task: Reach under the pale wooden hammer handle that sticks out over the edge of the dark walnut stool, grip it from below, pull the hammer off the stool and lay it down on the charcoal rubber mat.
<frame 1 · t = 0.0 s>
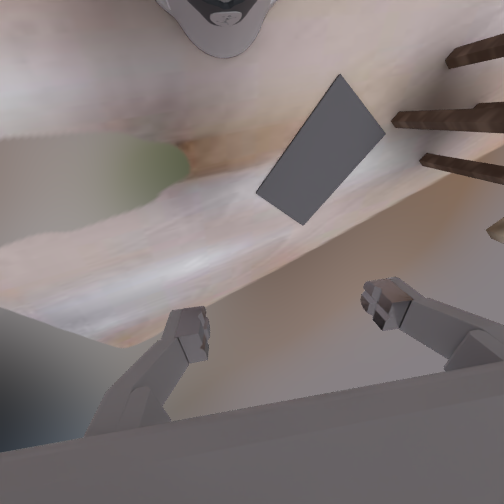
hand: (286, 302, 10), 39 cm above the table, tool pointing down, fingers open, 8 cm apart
stool: (436, 115, 41), on the table
mat: (317, 164, 44), on the table
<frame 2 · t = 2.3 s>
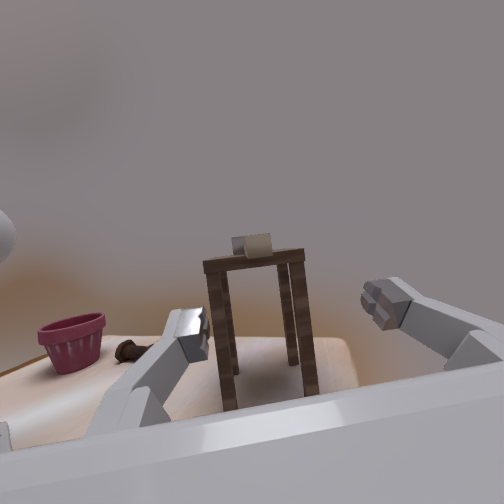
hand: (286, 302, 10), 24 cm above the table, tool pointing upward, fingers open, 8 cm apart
stool: (267, 385, 37), on the table
plant pot: (79, 364, 55), on the table
hammer: (254, 254, 30), point 26 cm above the table, touching stool
bolt: (144, 362, 52), on the table
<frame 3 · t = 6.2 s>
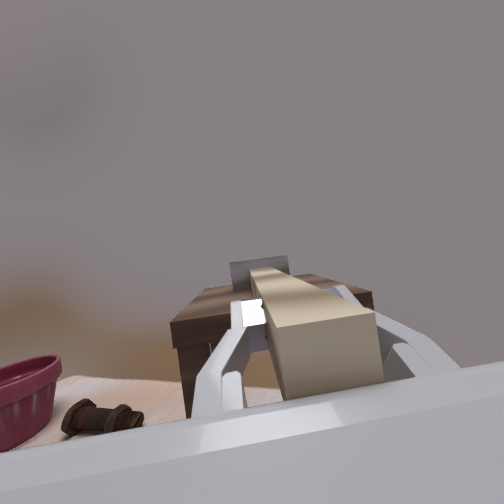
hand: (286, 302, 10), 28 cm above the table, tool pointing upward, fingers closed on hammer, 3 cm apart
plant pot: (20, 434, 39), on the table
hammer: (273, 306, 15), point 26 cm above the table, touching gripper, stool
bolt: (107, 432, 37), on the table
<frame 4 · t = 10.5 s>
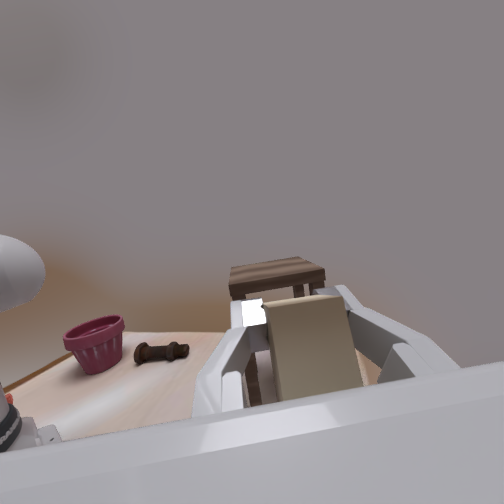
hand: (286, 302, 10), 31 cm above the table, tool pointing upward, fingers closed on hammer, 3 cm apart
stool: (286, 383, 41), on the table
plant pot: (105, 364, 59), on the table
bolt: (164, 359, 57), on the table
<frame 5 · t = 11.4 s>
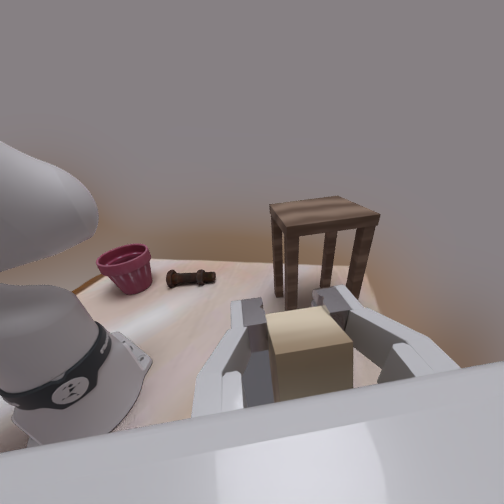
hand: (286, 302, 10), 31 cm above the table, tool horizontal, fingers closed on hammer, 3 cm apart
stool: (309, 305, 50), on the table
plant pot: (138, 286, 65), on the table
bolt: (193, 283, 64), on the table
mat: (270, 420, 30), on the table
when the fingers open (13 cm above the table, at t = 14.7 s): hammer drops 9 cm and tips over, resting on mat.
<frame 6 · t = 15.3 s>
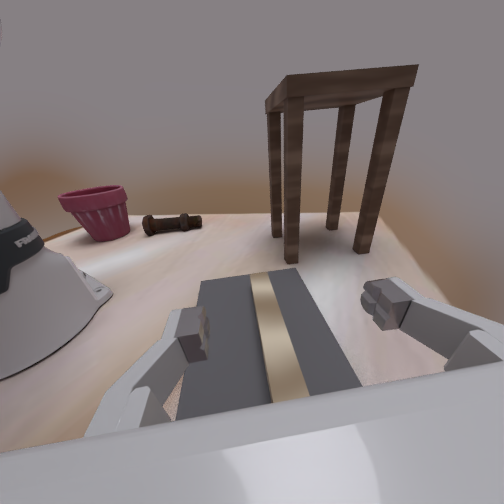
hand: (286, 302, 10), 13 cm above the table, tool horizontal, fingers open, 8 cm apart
stool: (313, 242, 41), on the table
plant pot: (113, 235, 56), on the table
hammer: (272, 325, 19), point 4 cm above the table, tilted 176°, touching mat
bolt: (176, 231, 55), on the table
mat: (261, 347, 21), on the table
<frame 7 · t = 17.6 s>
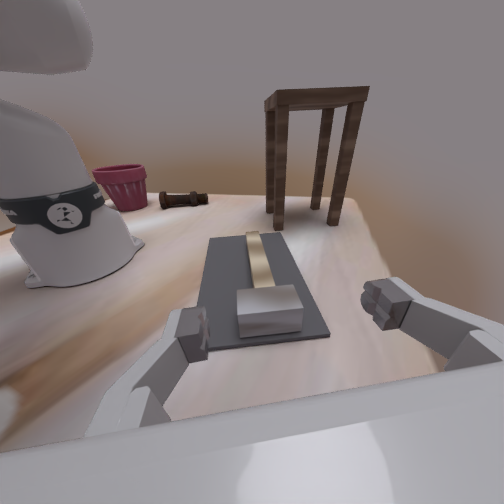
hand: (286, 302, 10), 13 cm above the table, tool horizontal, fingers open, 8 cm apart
stool: (298, 217, 52), on the table
plant pot: (134, 207, 66), on the table
hammer: (257, 255, 30), point 4 cm above the table, tilted 176°, touching mat
bolt: (186, 206, 65), on the table
mat: (250, 273, 33), on the table
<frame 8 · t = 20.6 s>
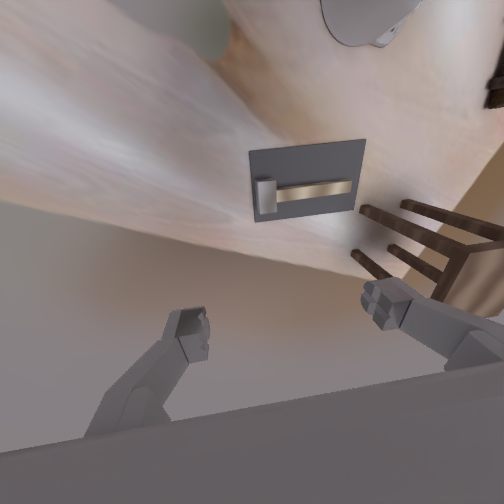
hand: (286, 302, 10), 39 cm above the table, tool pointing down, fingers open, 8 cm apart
stool: (378, 229, 54), on the table
hammer: (310, 192, 43), point 4 cm above the table, tilted 176°, touching mat
bolt: (499, 64, 39), on the table
mat: (306, 183, 46), on the table
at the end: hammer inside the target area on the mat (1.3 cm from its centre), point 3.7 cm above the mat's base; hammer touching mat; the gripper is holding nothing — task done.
